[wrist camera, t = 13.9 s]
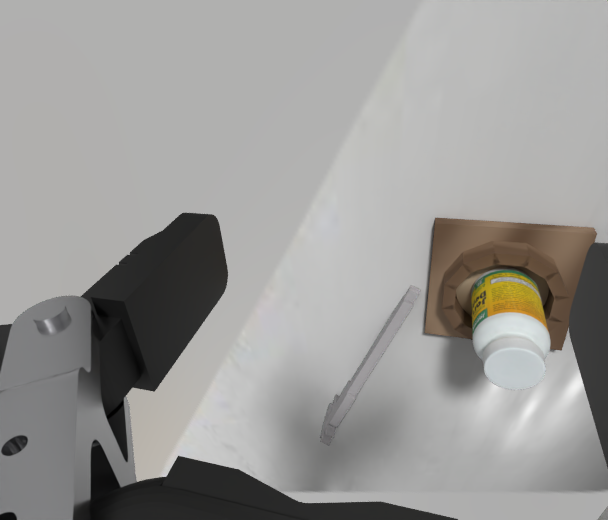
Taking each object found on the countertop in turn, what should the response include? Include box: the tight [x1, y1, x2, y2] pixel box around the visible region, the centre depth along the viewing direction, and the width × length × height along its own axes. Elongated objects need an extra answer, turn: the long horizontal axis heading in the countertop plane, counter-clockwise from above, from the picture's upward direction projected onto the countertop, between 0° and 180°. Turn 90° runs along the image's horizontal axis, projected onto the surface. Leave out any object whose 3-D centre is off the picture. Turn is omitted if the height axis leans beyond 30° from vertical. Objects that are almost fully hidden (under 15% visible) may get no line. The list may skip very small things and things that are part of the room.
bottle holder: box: [425, 218, 597, 350], centre depth 40 cm, size 12×12×3 cm
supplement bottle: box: [471, 267, 551, 390], centre depth 36 cm, size 5×5×10 cm
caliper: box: [320, 286, 420, 445], centre depth 48 cm, size 21×1×6 cm, turn 158°
